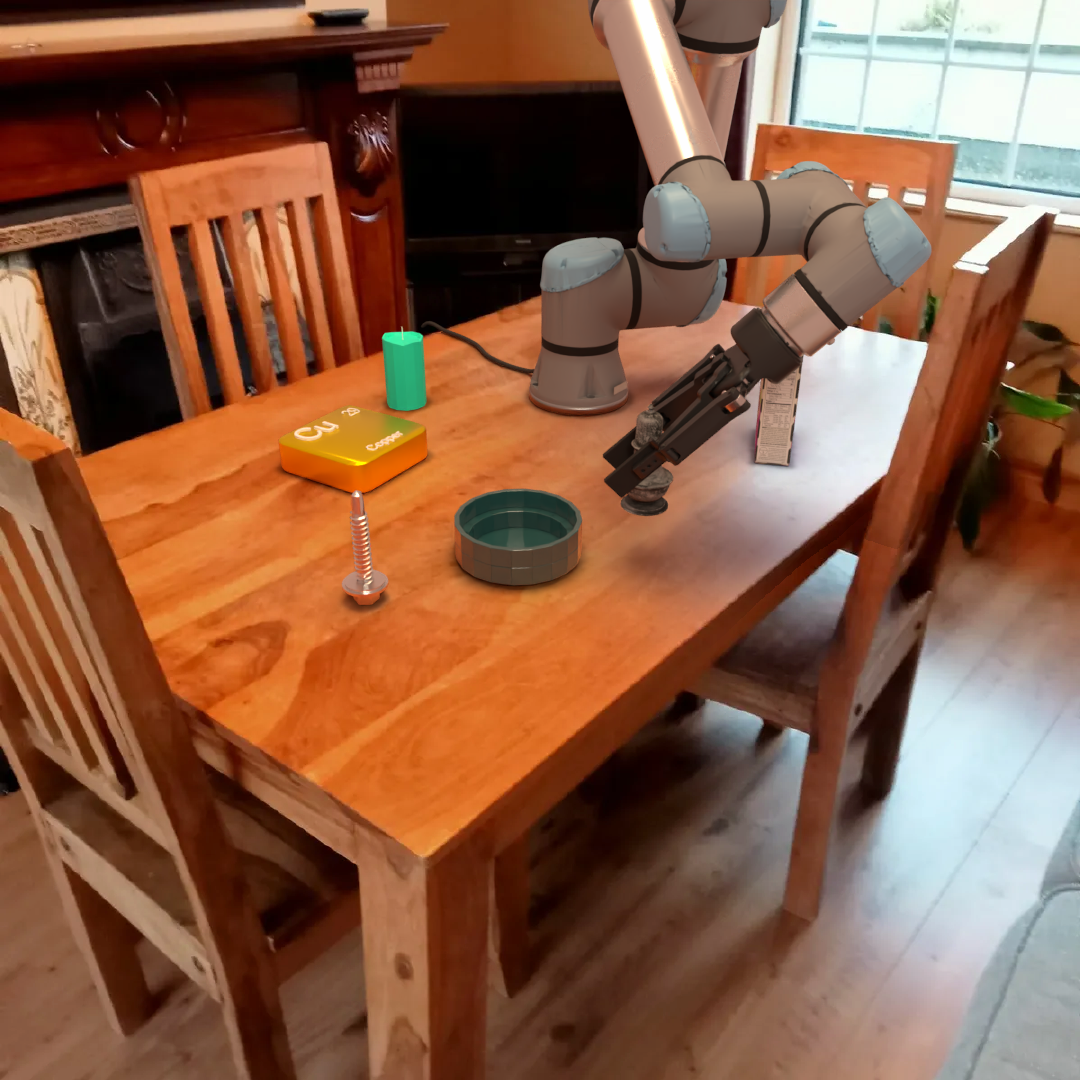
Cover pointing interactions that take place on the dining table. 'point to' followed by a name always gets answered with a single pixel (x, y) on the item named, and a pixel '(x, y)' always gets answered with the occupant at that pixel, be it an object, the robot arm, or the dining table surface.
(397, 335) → the candle
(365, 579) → the screw
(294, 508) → the dining table surface
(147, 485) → the dining table surface
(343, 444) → the element tile
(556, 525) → the bowl
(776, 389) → the candy bar box
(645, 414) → the salt shaker
